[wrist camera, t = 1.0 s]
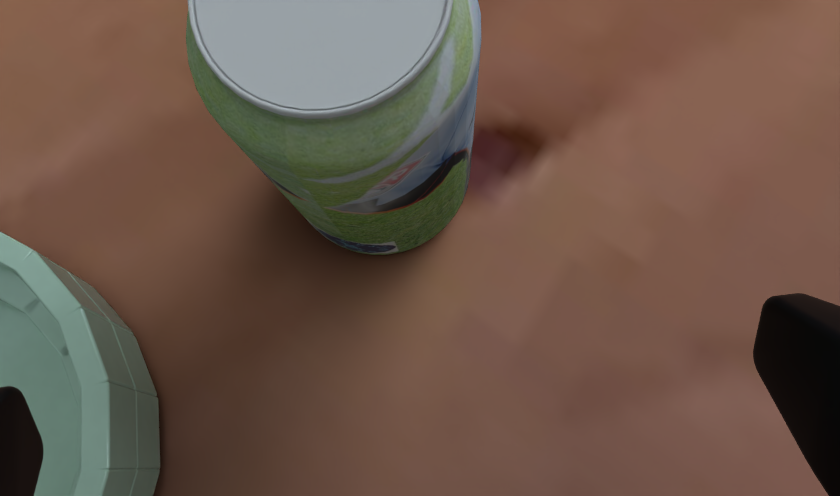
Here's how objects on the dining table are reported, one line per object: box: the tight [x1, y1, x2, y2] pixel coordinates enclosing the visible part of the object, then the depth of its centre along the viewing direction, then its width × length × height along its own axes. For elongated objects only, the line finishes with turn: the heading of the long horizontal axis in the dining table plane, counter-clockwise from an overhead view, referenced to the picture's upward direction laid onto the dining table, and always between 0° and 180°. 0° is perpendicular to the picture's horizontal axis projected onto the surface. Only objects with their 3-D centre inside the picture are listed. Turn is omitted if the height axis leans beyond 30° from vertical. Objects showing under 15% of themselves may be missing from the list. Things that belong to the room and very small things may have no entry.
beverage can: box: [186, 0, 481, 255], centre depth 18 cm, size 6×7×12 cm
